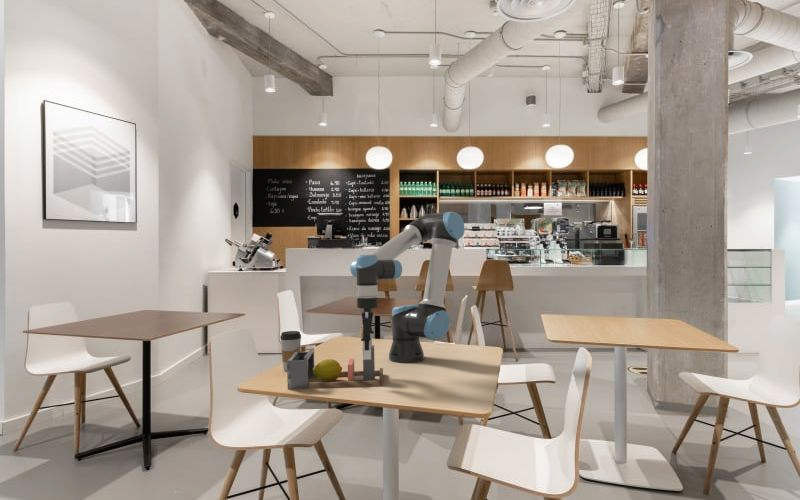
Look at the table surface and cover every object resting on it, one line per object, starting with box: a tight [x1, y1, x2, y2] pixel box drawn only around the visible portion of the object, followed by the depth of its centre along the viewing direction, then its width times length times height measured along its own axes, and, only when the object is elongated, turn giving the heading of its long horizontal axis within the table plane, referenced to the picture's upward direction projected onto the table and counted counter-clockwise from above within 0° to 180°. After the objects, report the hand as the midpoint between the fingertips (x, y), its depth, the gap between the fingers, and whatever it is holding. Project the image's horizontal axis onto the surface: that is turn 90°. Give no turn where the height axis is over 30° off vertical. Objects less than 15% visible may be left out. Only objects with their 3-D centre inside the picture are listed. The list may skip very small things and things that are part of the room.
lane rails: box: [307, 367, 384, 389], centre depth 174 cm, size 26×15×2 cm, turn 92°
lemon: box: [313, 358, 343, 382], centre depth 174 cm, size 11×8×8 cm
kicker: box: [347, 344, 376, 381], centre depth 174 cm, size 9×10×12 cm
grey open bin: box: [286, 347, 315, 389], centre depth 174 cm, size 7×16×11 cm, turn 2°
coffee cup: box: [279, 330, 302, 372], centre depth 193 cm, size 8×8×15 cm
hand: (367, 355), depth 174 cm, fingers open, 13 cm apart
